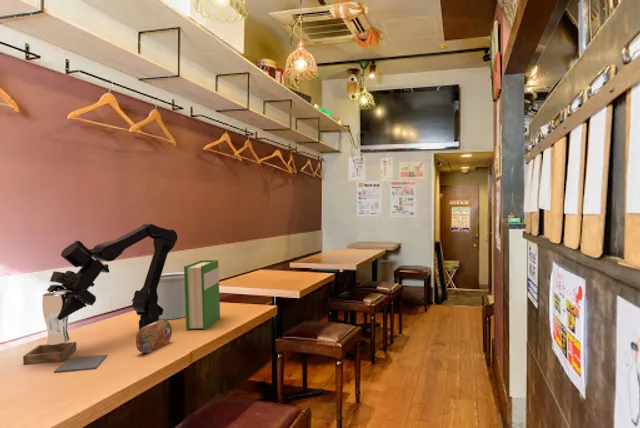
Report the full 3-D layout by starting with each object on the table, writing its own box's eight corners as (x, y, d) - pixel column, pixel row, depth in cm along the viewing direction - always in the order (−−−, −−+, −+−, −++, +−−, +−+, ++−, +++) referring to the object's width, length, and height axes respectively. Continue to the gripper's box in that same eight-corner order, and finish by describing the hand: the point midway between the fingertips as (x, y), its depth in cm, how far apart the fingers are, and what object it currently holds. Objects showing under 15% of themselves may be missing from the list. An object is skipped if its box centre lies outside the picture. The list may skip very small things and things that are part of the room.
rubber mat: (107, 356, 135) (107, 354, 135) (96, 368, 124) (96, 367, 124) (68, 359, 132) (68, 357, 132) (54, 372, 122) (53, 371, 122)
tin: (142, 357, 133) (141, 329, 133) (134, 356, 134) (133, 329, 134) (173, 341, 147) (172, 317, 147) (165, 341, 148) (164, 316, 148)
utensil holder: (146, 318, 180) (144, 277, 179) (171, 310, 193) (170, 271, 193) (174, 321, 174) (172, 278, 174) (198, 312, 188) (196, 272, 187)
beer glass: (62, 345, 129) (58, 296, 128) (39, 345, 129) (36, 296, 128) (76, 337, 136) (73, 290, 135) (54, 337, 136) (51, 291, 135)
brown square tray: (76, 349, 142) (76, 341, 142) (63, 360, 131) (63, 352, 131) (39, 352, 140) (39, 344, 140) (23, 364, 129) (23, 356, 129)
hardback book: (205, 330, 160) (203, 266, 159) (186, 330, 160) (184, 266, 160) (220, 318, 177) (218, 260, 177) (202, 318, 178) (200, 260, 178)
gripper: (51, 259, 140) (15, 300, 131) (84, 262, 130) (47, 306, 121) (77, 279, 147) (44, 319, 138) (110, 283, 137) (77, 327, 128)
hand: (52, 318), depth 131 cm, fingers closed on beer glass, 7 cm apart
